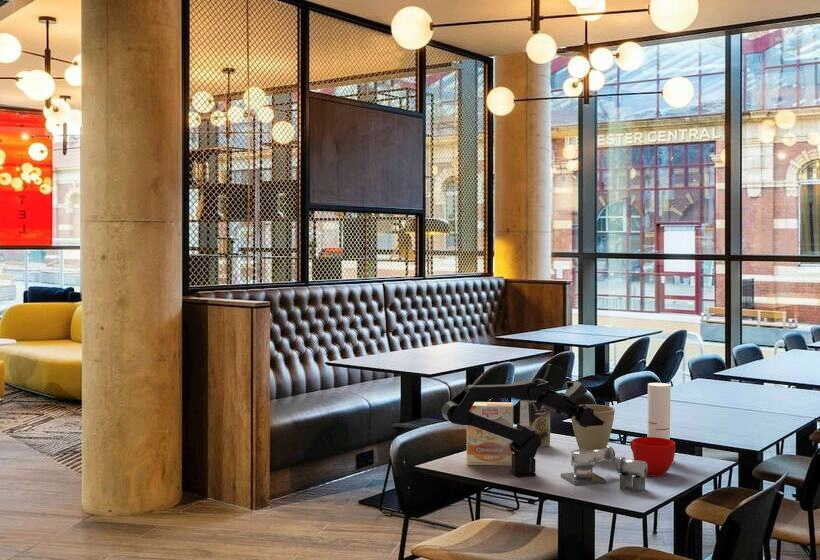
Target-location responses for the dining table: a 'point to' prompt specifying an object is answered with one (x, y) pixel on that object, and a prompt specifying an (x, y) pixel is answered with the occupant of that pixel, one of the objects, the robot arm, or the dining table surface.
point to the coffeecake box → (490, 435)
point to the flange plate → (582, 481)
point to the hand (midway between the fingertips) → (597, 419)
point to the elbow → (591, 457)
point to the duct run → (632, 468)
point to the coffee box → (536, 420)
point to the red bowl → (654, 453)
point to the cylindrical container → (658, 410)
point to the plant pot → (595, 429)
